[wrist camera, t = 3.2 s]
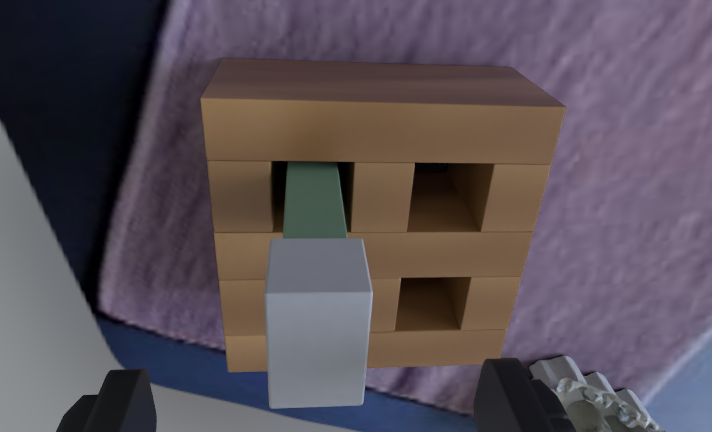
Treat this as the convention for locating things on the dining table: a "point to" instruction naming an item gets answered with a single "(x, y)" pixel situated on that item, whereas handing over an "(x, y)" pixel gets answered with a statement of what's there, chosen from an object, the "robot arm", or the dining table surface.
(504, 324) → the holder
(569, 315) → the dining table surface
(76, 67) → the dining table surface
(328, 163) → the green bar with cap
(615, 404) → the egg carton
